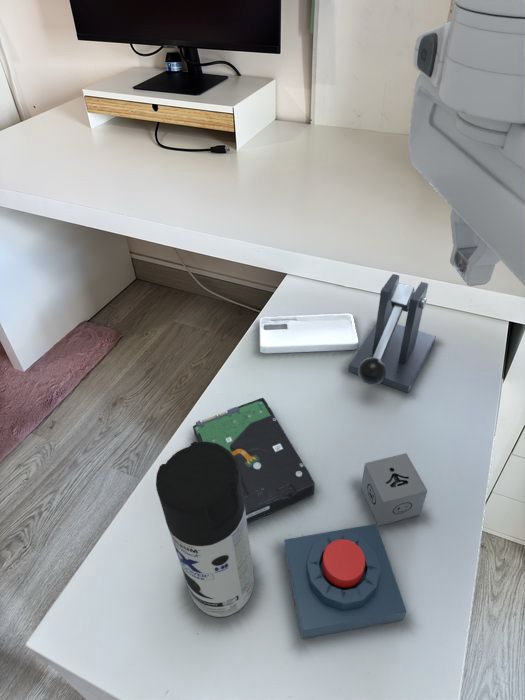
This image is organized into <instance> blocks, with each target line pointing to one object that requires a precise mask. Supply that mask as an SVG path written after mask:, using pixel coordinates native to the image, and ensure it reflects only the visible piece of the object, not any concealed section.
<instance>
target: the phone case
mask: <svg viewBox="0 0 525 700" xmlns="http://www.w3.org/2000/svg"><path fill="white" fill-rule="evenodd" d="M276 325H277V326H278V325H279V326H280V325H286V328H283V329H282V328H281V329H280V328H279V329H265V326H276ZM355 325H356V324H355V320H354V316H353V314H351V313H329V314H307V315H306V314H305V315H284V316H283V315H282V316H264V317H261V318H259V352H260V353H261V354H283V353H285V354H286V353H287V354H289V353H305V352H306V353H307V352H308V353H310V352H334V351H354V350H357V349H358V348H359V338H358V334H357V328H356V326H355Z"/></svg>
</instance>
